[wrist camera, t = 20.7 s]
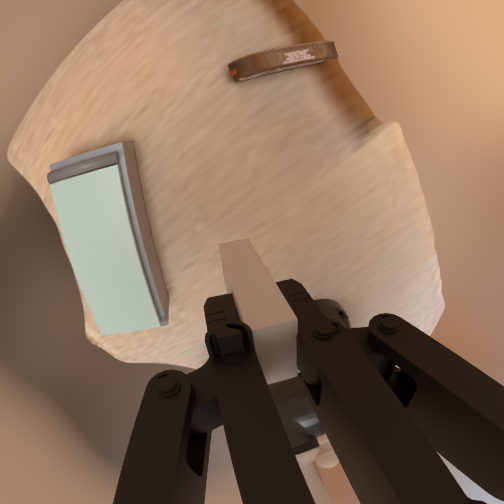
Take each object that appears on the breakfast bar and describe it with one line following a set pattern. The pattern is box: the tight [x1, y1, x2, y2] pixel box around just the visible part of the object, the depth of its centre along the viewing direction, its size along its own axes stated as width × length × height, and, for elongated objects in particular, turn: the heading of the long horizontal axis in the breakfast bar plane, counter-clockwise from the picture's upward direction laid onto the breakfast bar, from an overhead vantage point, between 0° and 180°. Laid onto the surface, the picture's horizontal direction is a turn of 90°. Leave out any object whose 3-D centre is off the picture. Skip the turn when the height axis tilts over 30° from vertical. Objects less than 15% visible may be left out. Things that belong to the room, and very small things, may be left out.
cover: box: [47, 152, 161, 335], centre depth 30 cm, size 23×9×1 cm, turn 6°
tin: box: [228, 41, 338, 82], centre depth 29 cm, size 15×3×8 cm, turn 109°
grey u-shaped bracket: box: [50, 141, 169, 326], centre depth 34 cm, size 25×10×7 cm, turn 6°
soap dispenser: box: [315, 434, 339, 468], centre depth 54 cm, size 6×6×22 cm
